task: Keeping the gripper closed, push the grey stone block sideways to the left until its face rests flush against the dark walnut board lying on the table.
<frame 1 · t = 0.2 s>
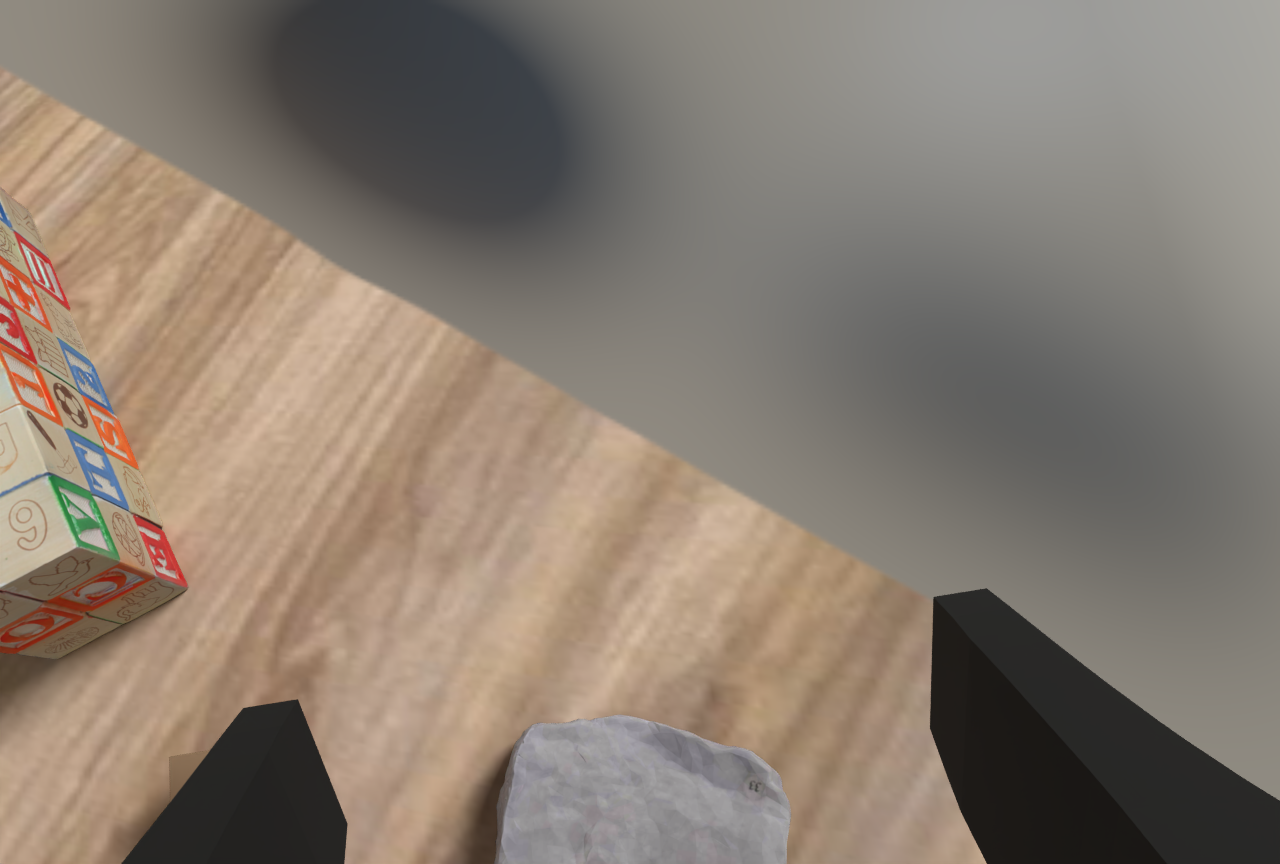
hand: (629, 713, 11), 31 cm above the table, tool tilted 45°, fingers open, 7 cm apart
stone block: (639, 845, 40), on the table
stack of blocks: (46, 421, 45), on the table
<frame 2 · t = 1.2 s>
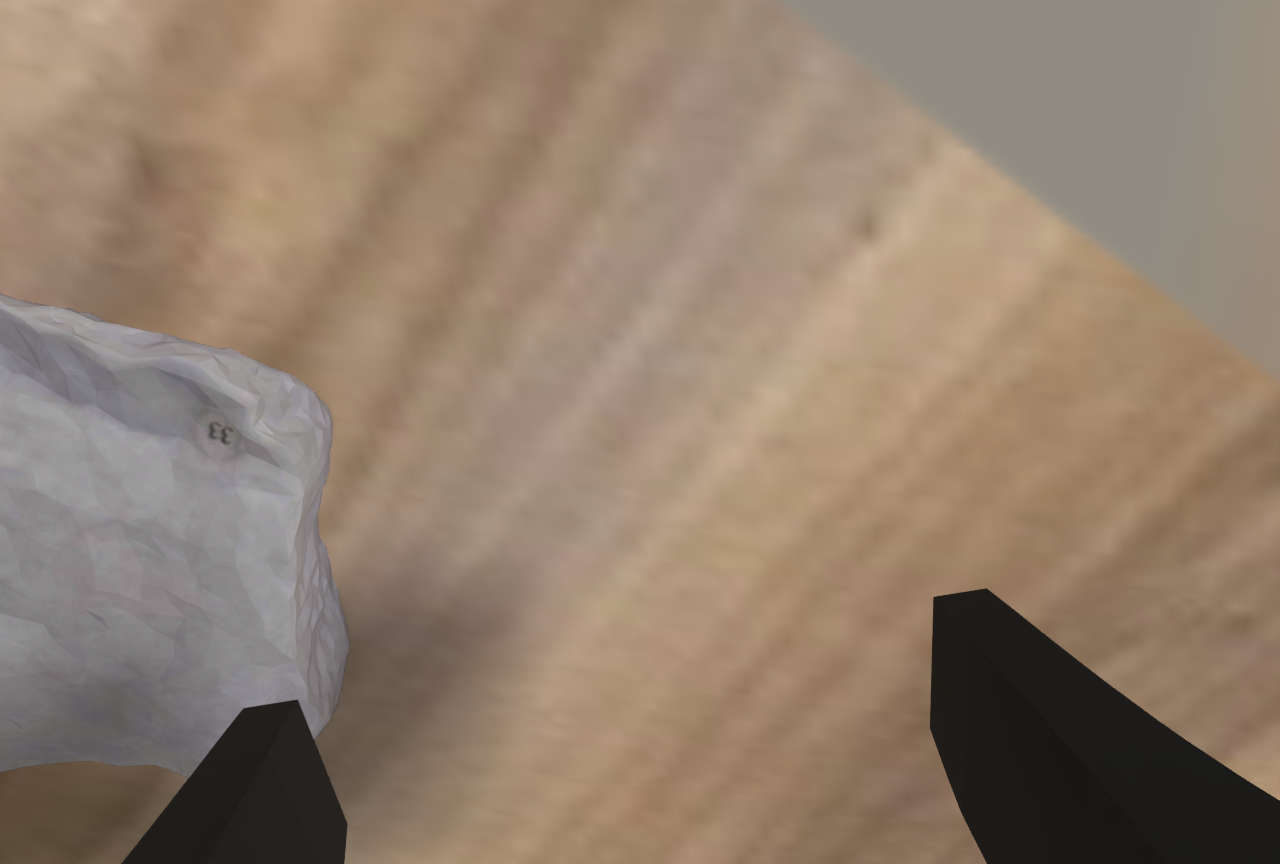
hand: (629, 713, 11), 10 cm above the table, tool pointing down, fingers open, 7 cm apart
stone block: (56, 470, 20), on the table
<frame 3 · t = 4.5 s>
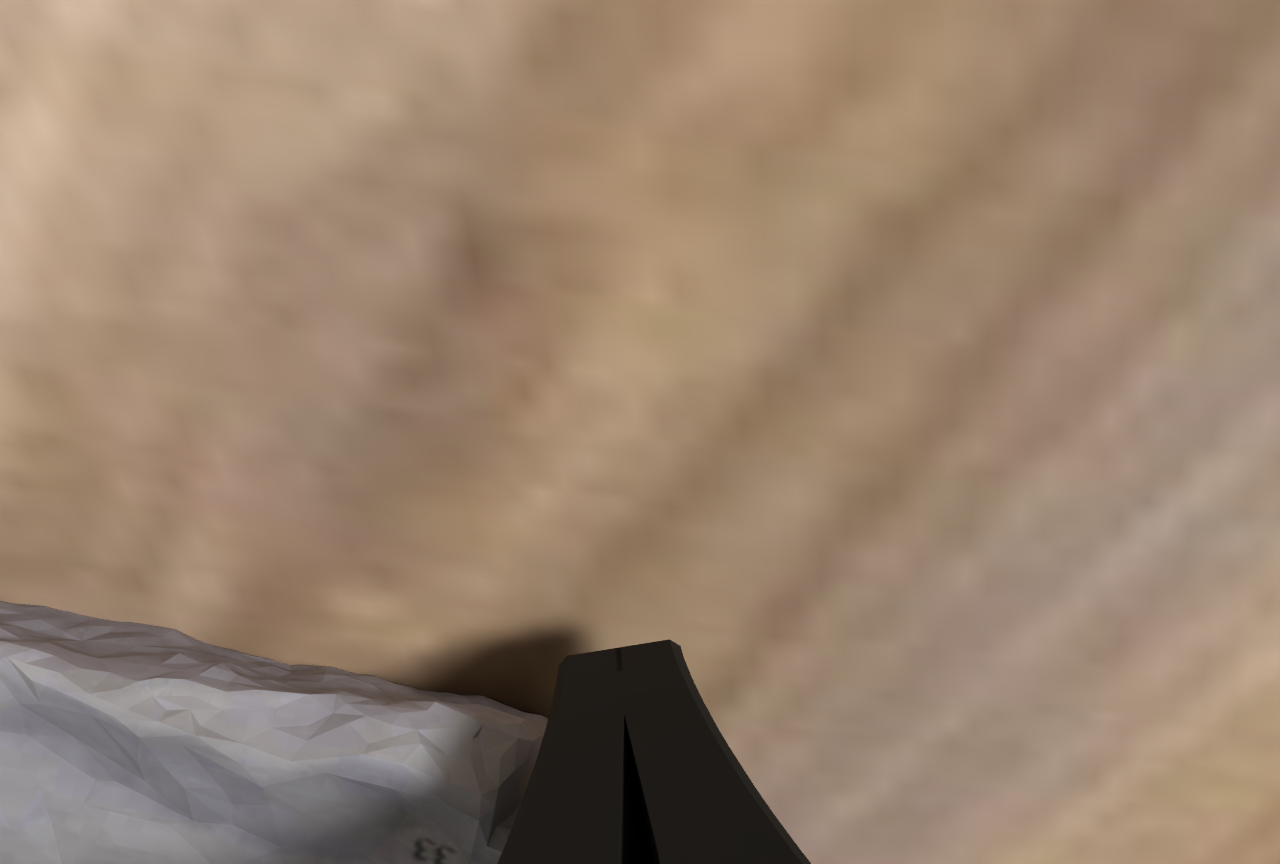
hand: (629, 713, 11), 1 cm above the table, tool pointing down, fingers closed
stone block: (153, 813, 14), on the table, touching gripper
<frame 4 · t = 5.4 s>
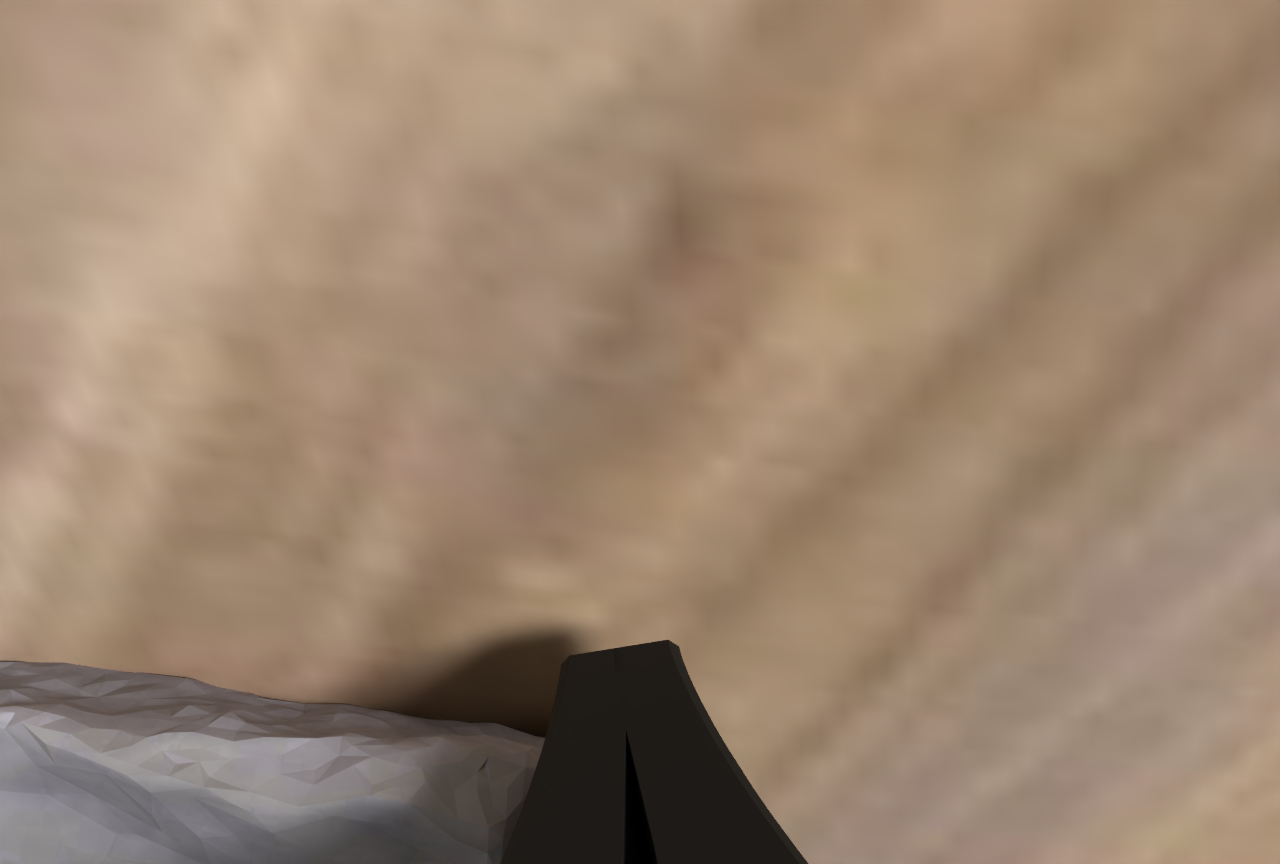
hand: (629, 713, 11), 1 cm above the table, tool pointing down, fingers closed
stone block: (188, 854, 14), on the table, touching gripper
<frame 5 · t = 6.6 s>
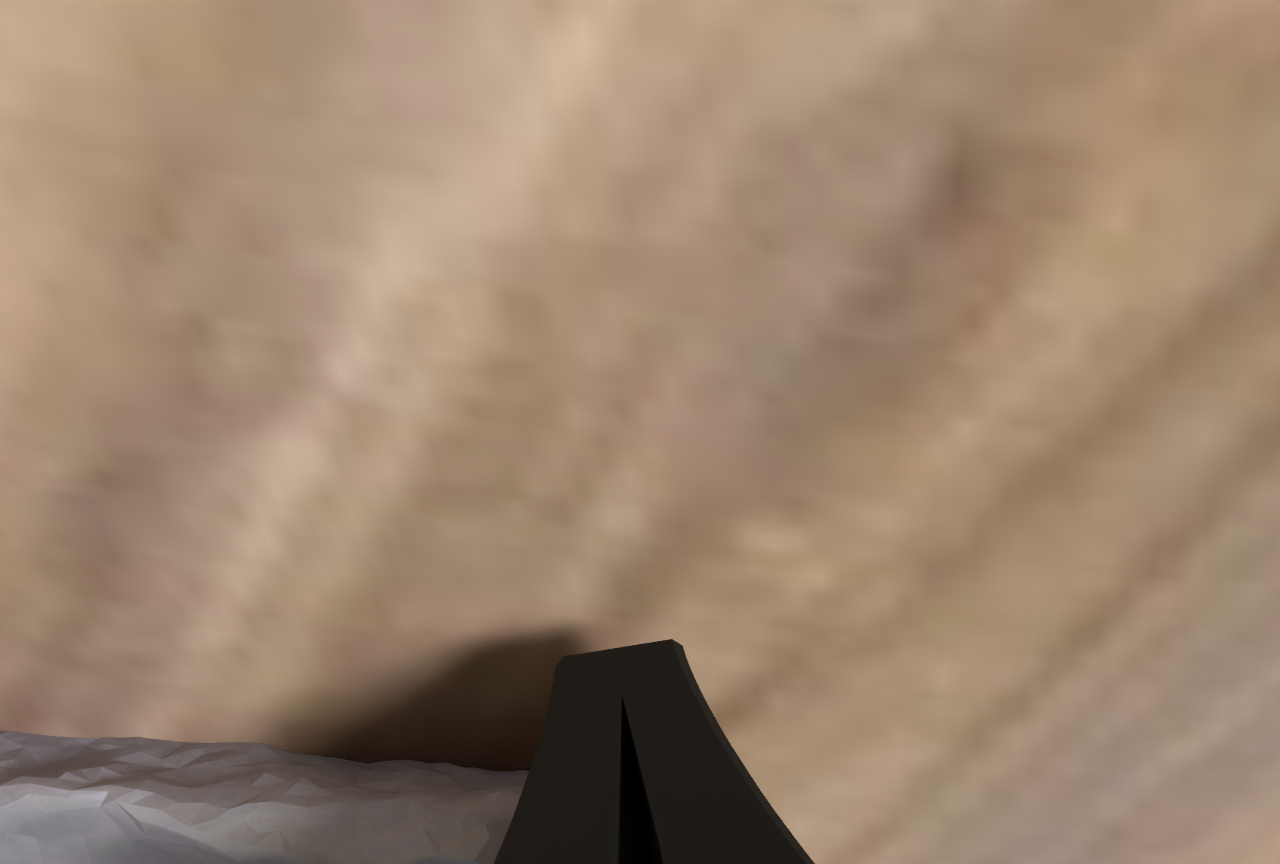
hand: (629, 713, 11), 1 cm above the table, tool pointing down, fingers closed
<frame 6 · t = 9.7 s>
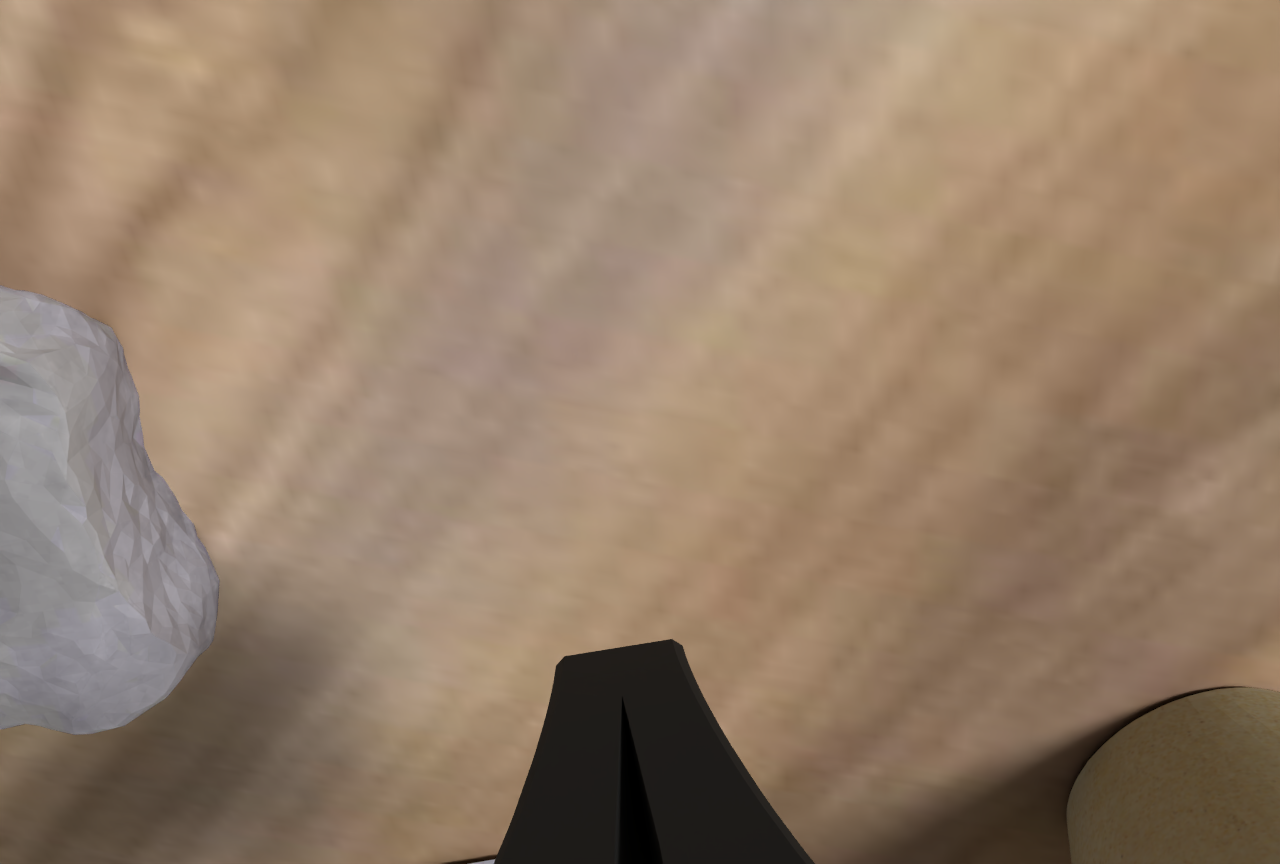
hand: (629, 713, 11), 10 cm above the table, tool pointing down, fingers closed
plant pot: (1190, 778, 28), on the table
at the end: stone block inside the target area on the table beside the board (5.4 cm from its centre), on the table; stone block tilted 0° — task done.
